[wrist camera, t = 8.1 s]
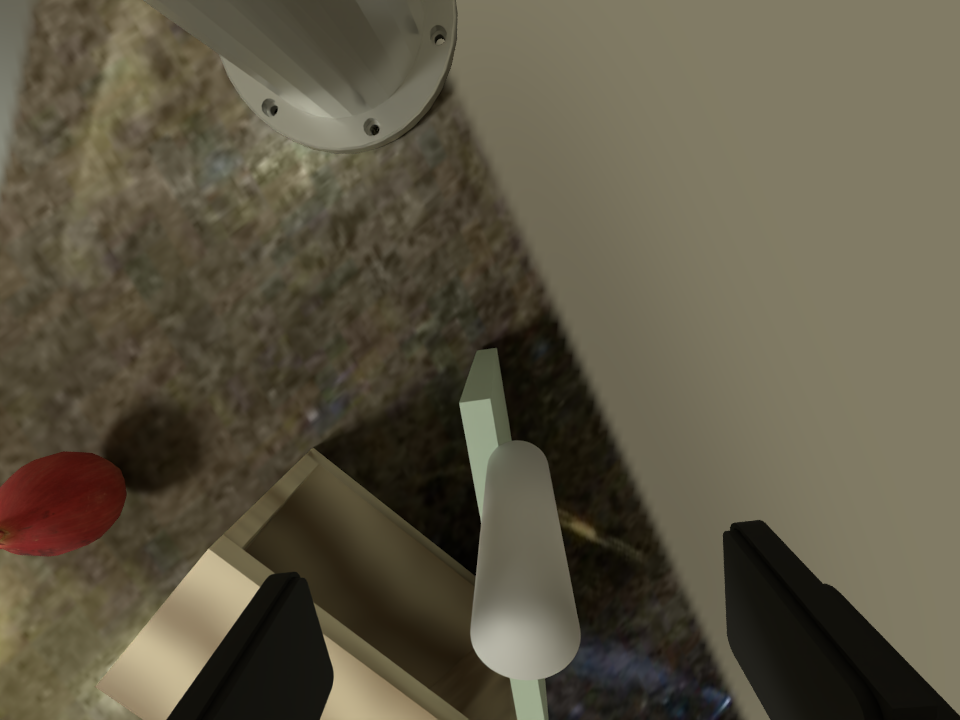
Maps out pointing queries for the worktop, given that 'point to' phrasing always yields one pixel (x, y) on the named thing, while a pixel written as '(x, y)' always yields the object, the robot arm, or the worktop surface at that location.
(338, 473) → the cupboard
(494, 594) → the cupboard door
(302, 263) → the worktop surface
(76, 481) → the onion
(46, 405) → the worktop surface
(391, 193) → the worktop surface
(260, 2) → the robot arm
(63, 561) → the worktop surface
